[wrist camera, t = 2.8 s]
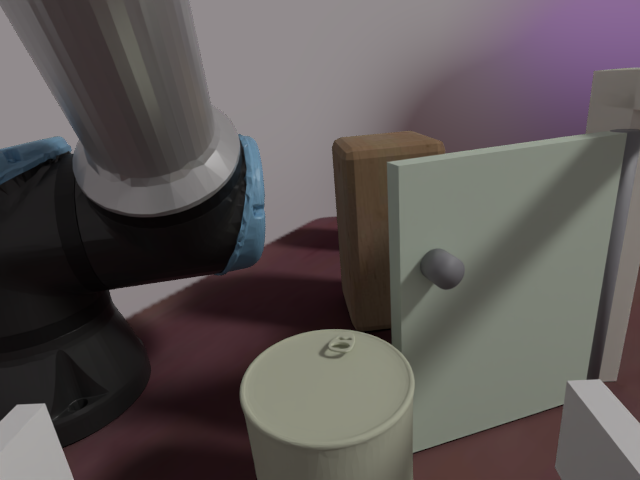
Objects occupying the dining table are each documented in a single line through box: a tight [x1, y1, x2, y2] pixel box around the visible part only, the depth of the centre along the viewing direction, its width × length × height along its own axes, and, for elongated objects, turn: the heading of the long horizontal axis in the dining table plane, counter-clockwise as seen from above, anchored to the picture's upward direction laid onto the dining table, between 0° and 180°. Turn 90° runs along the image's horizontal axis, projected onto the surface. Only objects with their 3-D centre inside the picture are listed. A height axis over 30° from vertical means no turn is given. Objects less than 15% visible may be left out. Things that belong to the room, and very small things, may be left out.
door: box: [387, 129, 640, 453], centre depth 30 cm, size 5×18×21 cm, turn 106°
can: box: [240, 329, 415, 480], centre depth 24 cm, size 9×9×12 cm
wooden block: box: [332, 131, 445, 332], centre depth 47 cm, size 10×10×20 cm
